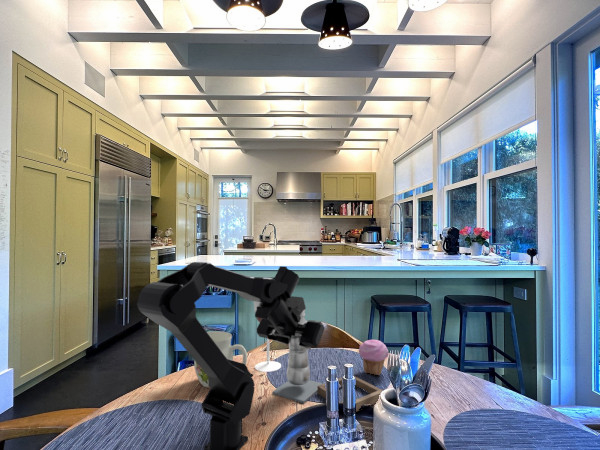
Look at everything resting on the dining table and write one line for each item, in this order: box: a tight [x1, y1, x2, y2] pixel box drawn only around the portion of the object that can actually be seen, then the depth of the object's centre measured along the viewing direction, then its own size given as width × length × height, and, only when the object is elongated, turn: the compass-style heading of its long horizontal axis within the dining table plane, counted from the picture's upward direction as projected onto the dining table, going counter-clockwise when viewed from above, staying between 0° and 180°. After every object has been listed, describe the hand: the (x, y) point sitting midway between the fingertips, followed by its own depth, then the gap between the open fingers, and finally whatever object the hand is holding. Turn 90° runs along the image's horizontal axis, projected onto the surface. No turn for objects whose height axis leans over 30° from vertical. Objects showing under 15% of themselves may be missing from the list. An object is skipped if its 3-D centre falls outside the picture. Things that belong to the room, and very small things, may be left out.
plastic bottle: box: [286, 309, 311, 385], centre depth 86 cm, size 6×7×20 cm
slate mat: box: [272, 379, 323, 404], centre depth 86 cm, size 11×10×1 cm
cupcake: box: [358, 339, 389, 376], centre depth 97 cm, size 9×9×10 cm
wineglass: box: [253, 301, 282, 373], centre depth 103 cm, size 9×10×23 cm
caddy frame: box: [317, 375, 384, 413], centre depth 82 cm, size 12×12×2 cm
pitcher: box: [193, 331, 248, 388], centre depth 91 cm, size 11×18×14 cm, turn 83°
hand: (300, 345), depth 87 cm, fingers closed on plastic bottle, 6 cm apart
